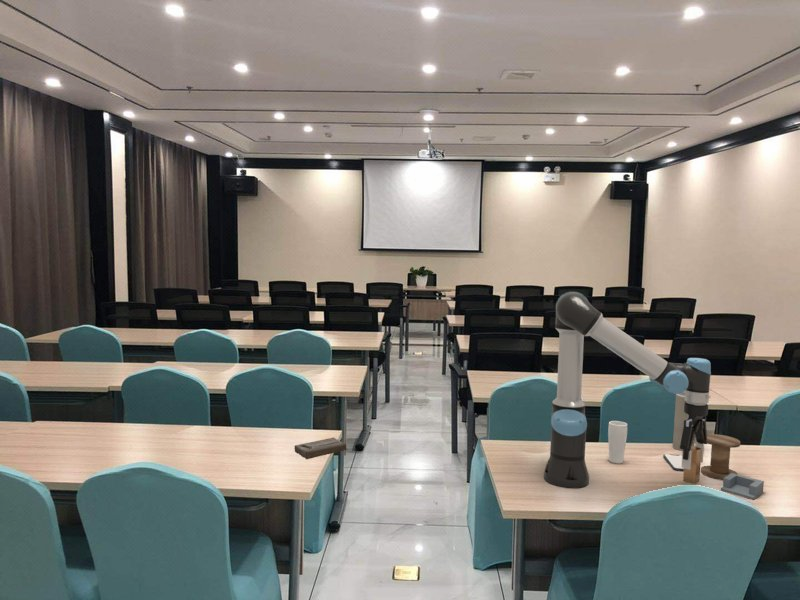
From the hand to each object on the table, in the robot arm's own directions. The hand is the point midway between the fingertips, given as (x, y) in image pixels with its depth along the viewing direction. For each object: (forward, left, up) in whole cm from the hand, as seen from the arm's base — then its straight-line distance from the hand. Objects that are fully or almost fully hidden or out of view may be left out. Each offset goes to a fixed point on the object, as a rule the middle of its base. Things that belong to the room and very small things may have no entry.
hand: (692, 464), depth 211 cm
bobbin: (+15, -4, -6) cm, 17 cm away
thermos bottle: (+36, +17, -6) cm, 40 cm away
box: (-83, +106, -7) cm, 135 cm away
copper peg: (0, 0, -6) cm, 6 cm away
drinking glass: (-2, +27, -6) cm, 28 cm away
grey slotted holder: (+4, -15, -6) cm, 17 cm away
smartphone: (+15, +10, -7) cm, 19 cm away
